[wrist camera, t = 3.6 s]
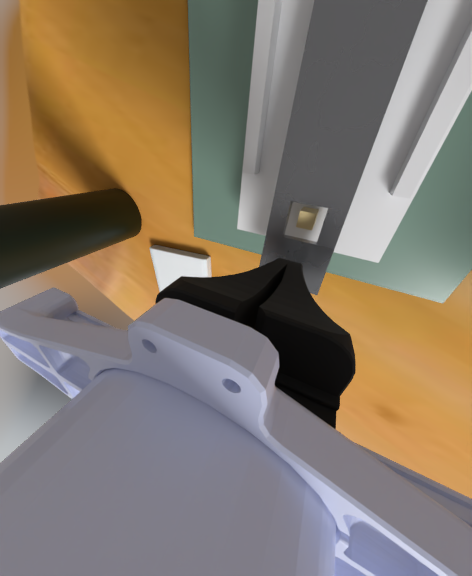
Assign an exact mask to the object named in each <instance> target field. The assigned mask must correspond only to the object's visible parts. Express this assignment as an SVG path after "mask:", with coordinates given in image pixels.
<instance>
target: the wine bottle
mask: <svg viewBox="0 0 472 576" xmlns="http://www.w3.org/2000/svg"><path fill="white" fill-rule="evenodd" d="M140 230H141V216H140V213H139V210H138V208H137V206H136V204H135V203H134V201H133V200H132V198H131V197H130V196H129V195H128V194H126V193H125V192H124V191H122V190H120V189H115V188H114V189H107V190H100V191H94V192H87V193H80V194H73V195H67V196H60V197H53V198H47V199H40V200H33V201H27V202H20V203H13V204H7V205H0V288H3V287H5V286H8V285H11V284H13V283H16V282H18V281H21V280H23V279H26V278H29V277H31V276H33V275H36V274H39V273H41V272H44V271H46V270H49V269H51V268H54V267H57V266H59V265H62V264H64V263H67V262H70V261H72V260H75V259H77V258H80V257H83V256H85V255H88V254H90V253H93V252H95V251H98V250H101V249H103V248H106V247H108V246H111V245H113V244H116V243H118V242H121V241H124V240H126V239H129V238H131V237H134V236H136V235H137V234H138V233H139V232H140Z"/></svg>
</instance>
